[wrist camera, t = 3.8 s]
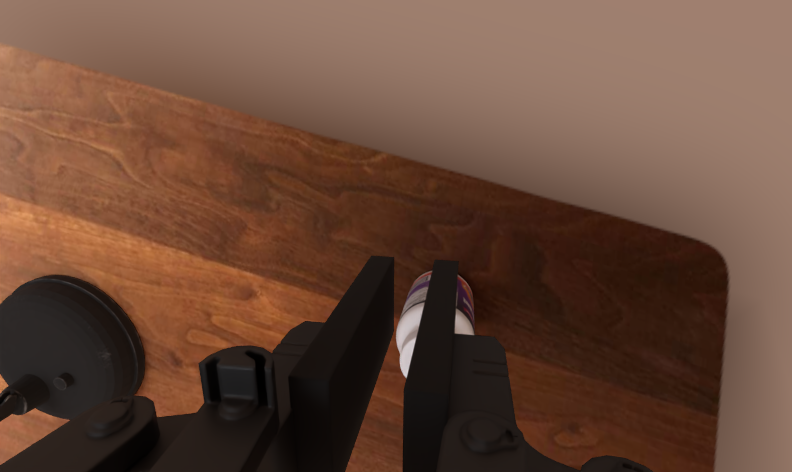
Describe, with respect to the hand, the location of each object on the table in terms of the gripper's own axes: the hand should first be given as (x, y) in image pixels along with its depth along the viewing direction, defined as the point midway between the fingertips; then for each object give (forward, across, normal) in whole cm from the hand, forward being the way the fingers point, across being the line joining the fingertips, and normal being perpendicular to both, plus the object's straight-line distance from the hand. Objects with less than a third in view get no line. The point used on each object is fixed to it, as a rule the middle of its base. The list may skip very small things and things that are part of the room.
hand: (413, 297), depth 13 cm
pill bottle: (+20, 0, -9) cm, 22 cm away
